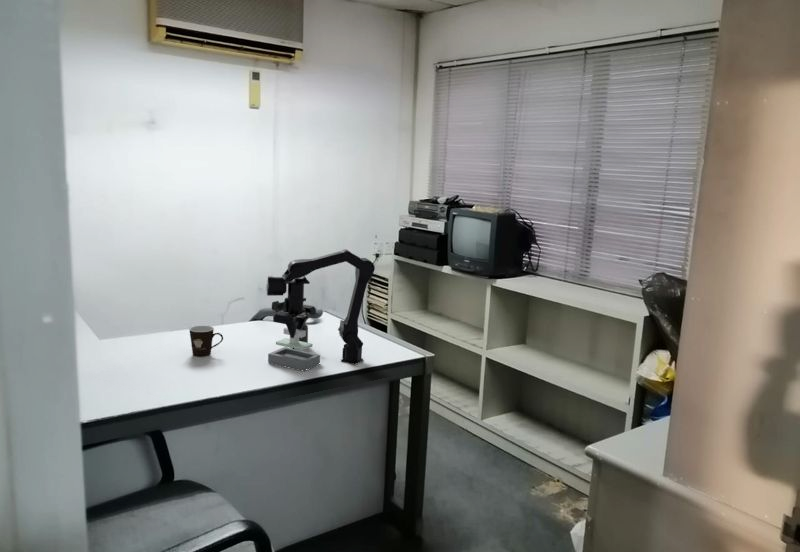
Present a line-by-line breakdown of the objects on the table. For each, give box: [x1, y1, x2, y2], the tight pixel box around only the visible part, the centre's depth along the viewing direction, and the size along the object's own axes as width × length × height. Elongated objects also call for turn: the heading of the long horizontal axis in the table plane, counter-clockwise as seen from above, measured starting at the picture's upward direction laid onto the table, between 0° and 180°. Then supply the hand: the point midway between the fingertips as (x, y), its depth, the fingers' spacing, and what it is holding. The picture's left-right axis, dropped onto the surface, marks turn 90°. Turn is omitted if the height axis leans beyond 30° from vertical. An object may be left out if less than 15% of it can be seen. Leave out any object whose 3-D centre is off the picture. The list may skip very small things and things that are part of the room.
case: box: [267, 346, 321, 372], centre depth 222 cm, size 16×10×4 cm, turn 64°
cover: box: [275, 327, 313, 351], centre depth 221 cm, size 12×6×6 cm, turn 64°
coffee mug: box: [188, 325, 224, 358], centre depth 225 cm, size 12×9×10 cm
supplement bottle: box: [299, 323, 309, 343], centre depth 241 cm, size 7×7×12 cm
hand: (294, 336), depth 221 cm, fingers closed on cover, 2 cm apart
